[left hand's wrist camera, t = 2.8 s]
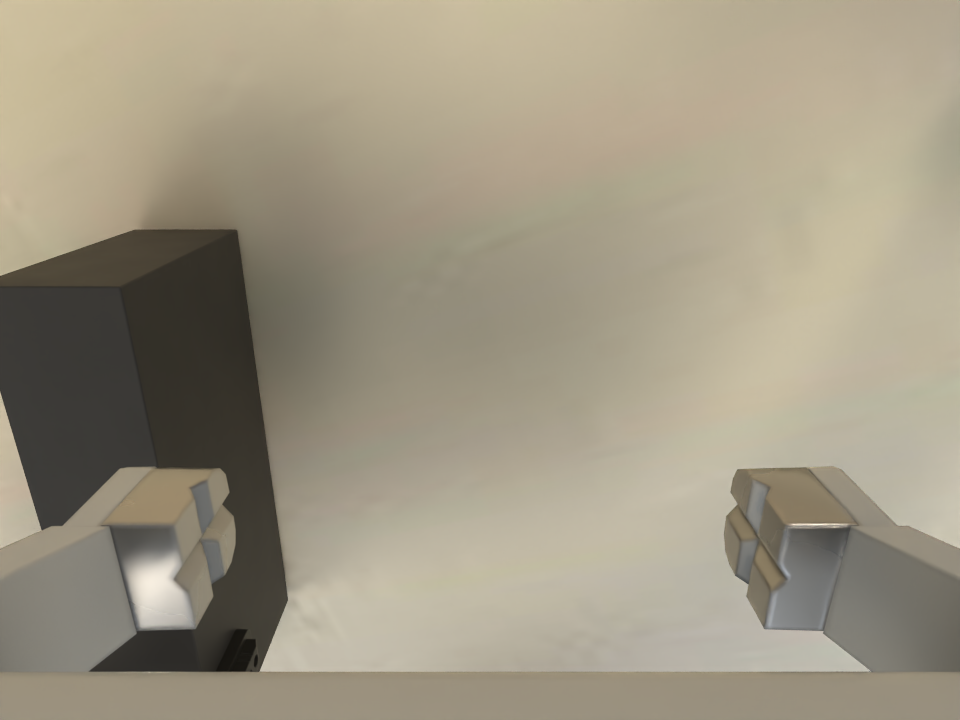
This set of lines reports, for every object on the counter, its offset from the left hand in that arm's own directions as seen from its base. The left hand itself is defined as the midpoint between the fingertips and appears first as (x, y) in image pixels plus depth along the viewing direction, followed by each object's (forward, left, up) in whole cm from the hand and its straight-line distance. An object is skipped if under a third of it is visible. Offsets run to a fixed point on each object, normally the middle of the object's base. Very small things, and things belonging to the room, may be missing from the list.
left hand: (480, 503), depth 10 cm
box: (+14, -16, -27) cm, 35 cm away
